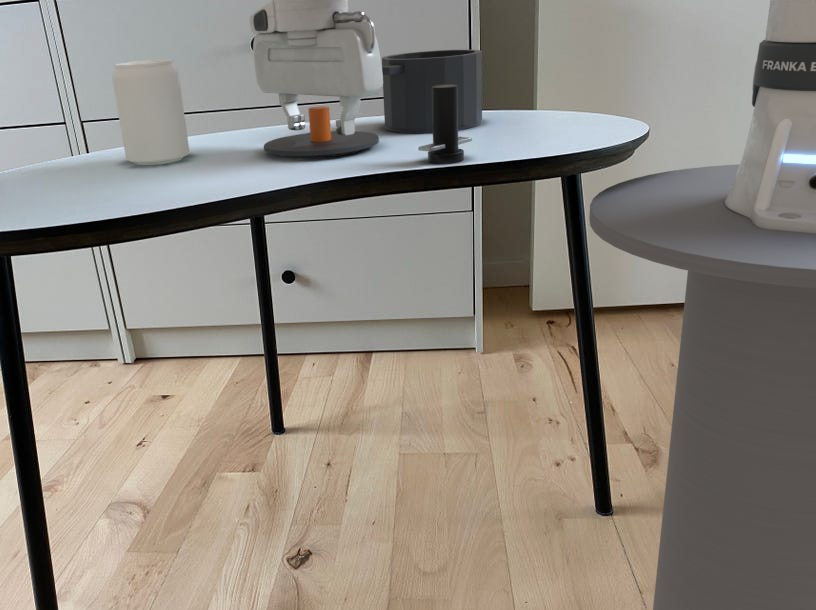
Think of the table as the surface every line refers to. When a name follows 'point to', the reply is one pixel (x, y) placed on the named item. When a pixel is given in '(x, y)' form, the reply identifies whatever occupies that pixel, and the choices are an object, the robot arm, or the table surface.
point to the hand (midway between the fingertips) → (320, 132)
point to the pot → (430, 88)
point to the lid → (320, 139)
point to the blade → (445, 127)
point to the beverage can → (150, 111)
